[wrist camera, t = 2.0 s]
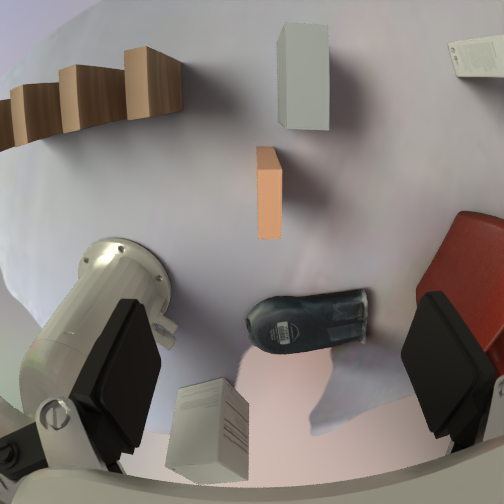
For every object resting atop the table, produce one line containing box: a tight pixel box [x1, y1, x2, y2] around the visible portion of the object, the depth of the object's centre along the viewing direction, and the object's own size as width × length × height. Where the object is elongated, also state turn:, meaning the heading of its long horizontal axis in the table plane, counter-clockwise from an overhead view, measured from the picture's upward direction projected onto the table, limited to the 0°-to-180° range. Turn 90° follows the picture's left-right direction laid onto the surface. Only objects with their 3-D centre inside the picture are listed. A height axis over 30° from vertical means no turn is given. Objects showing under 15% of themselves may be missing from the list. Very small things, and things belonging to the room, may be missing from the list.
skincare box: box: [448, 35, 504, 78], centre depth 16 cm, size 6×4×12 cm
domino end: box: [257, 147, 282, 239], centre depth 25 cm, size 2×5×10 cm, turn 2°
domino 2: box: [10, 83, 63, 147], centre depth 21 cm, size 2×5×10 cm, turn 1°
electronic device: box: [244, 288, 368, 354], centre depth 37 cm, size 9×6×15 cm
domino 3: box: [59, 65, 127, 134], centre depth 21 cm, size 2×5×10 cm, turn 1°
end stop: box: [277, 22, 330, 131], centre depth 21 cm, size 3×8×8 cm, turn 1°
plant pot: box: [416, 211, 504, 380], centre depth 27 cm, size 19×19×17 cm
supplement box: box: [165, 378, 249, 484], centre depth 40 cm, size 9×9×15 cm
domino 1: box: [0, 99, 15, 152], centre depth 21 cm, size 2×5×10 cm, turn 1°
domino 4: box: [124, 46, 183, 120], centre depth 21 cm, size 2×5×10 cm, turn 1°
